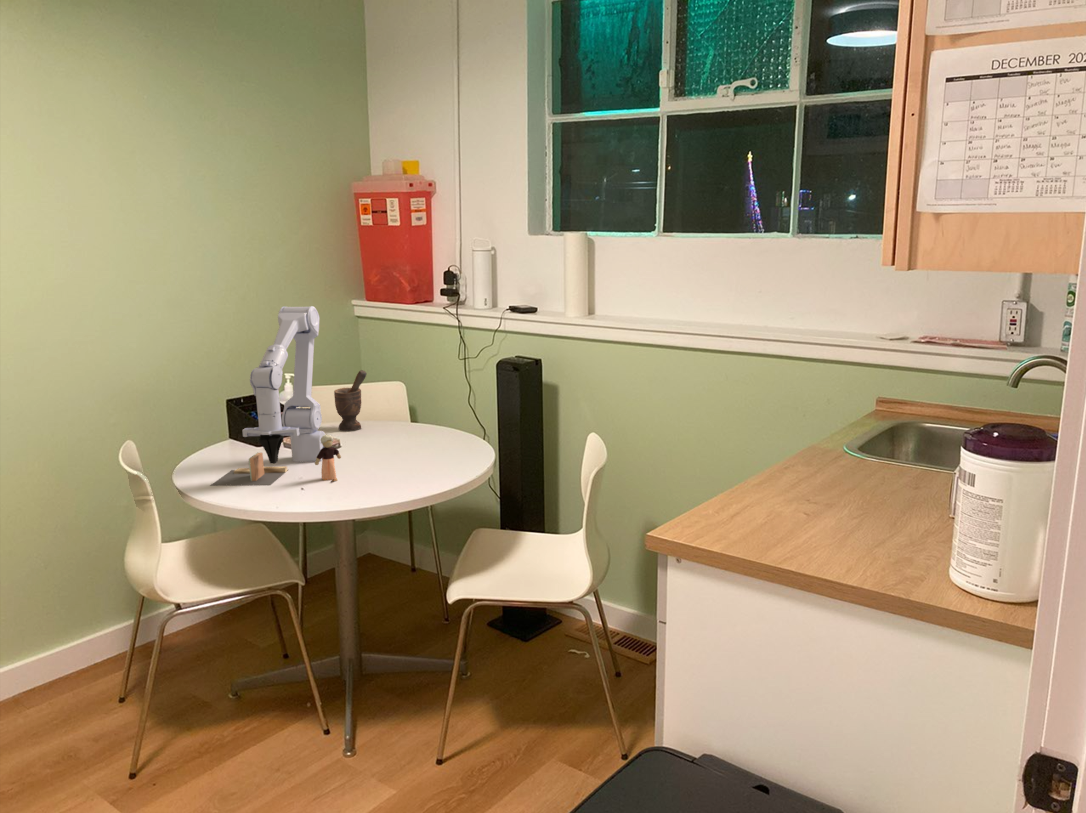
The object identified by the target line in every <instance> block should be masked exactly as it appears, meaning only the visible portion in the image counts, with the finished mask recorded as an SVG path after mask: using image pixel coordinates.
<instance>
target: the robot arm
mask: <svg viewBox="0 0 1086 813" xmlns="http://www.w3.org/2000/svg"><path fill="white" fill-rule="evenodd" d="M277 323H278V330H277V333H276V335H275V338H274V341H273V344H271V345H269V346H267V347H266V350H265V352H264V355H263V356H262V358H261V361H260V363H259V364H258V367H255V368H253V369H252V370H251V373H250V376H249V378H250V379H249V383H250V386H251V388H252V391H253V395H254V397H255V398H256V410H257V411H256V412H257V417H258V419H257V420H258V427H245V428H244V429H241V430H242V437H244V438H247V437H260V438H259V439H258V442H259V443H260V445H261V447H263V450H264V451H265V454H266V455H267V458H268V460H269V464H276V463H278V461H279V454H280V448H281V446H282V443H283V441H284V438H285V437H289V438H290V447H291V448H290V449H291V461H293V462H295V463H311V462H314V463H315V462H316V458H317V455H318V454H319V452H320V450H321V449H322V448H324V446H323V444H321V441H320V440H321V437H322V436H324V435H326V433H325V431H323V430H319V428H320V427H321V426H322V425H321V424H322V422H323V421H322V420H323V417H322V410H321V404H320V403H319V402H318V401H317V400H316V399H315V398H314V397H312V393H313V392H312V389H313V373H314V372H313V371H314V354H315V353H314V351H315V350H314V349H315V339H316V338H318V337H319V331H320V314H319V312H318V310H317V308H316V307H315V306H313V305H311V306H286V305H285V306H281V307H280V309H279V311H278V313H277ZM293 339H294V341H295V348H294V349H295V351H294V352H295V353H294V370H293V372H294V373H293V387H292V388H293V391H292V396H291V398H289V399H287V401H285V403H284V407H283V411H282V412H281V402H280V401H281V400H280V392H279V388H280V387H281V386H282V382H283V375H284V374H283V373H284V372H283V368H284V366H285V364H286V362H287V360H288V357H289V353H288V351H287V350H288V348H289V346H290V344H291V342H292V341H293ZM301 407H302V408H301ZM281 413H282V414H281ZM320 462H322V458H321V459H320V461H319V463H320Z"/></svg>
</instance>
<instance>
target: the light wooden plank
mask: <svg viewBox="0 0 1086 813" xmlns="http://www.w3.org/2000/svg"><path fill="white" fill-rule="evenodd" d="M234 470H235V471H234V474H238V473H250V468H249V467H243V468H242V467H238V468H236V469H234ZM288 471H289V469H288V466H287V465H285V466H283V465H282V466H264V473H272V472H286V473H287V472H288Z"/></svg>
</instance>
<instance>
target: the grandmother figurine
mask: <svg viewBox="0 0 1086 813" xmlns="http://www.w3.org/2000/svg"><path fill="white" fill-rule="evenodd" d="M320 441H321V444H323V446H324V448H322V449H321V450H320V452H319V454H318V455H317V458H316V462H314V465H315V466H318V465H319V464H320V462H321V472H320V473H321V480H322V481H325V482H326V481H330V482H333V483H334V482H337V481H338V478H337V472H336V467H335V456H336V458H337V459H339V460H340V459H341V458H342V456H341V454H340V451H339V450H338V449H337V448H336V447H334V446H333V443H334V437H333V436H332V435H331V434H326V433H325V435H324V436H322V437H321V440H320ZM321 458H322V461H320V459H321ZM319 461H320V462H319Z"/></svg>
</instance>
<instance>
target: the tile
mask: <svg viewBox="0 0 1086 813" xmlns="http://www.w3.org/2000/svg"><path fill="white" fill-rule="evenodd" d="M248 465H249V467H248V468H250V478H251V481H256V480H258V479H259V478H260V477H261V476H263V475H264V467H265V466H264V455H263V452H256V453H255V454H253V455H252V456H250V457H249V458H248Z"/></svg>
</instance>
